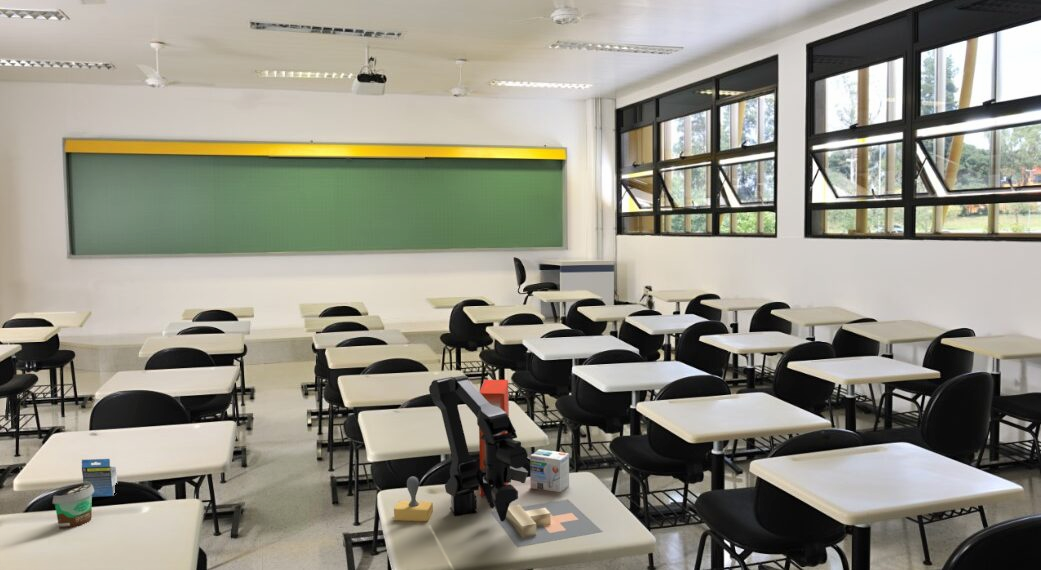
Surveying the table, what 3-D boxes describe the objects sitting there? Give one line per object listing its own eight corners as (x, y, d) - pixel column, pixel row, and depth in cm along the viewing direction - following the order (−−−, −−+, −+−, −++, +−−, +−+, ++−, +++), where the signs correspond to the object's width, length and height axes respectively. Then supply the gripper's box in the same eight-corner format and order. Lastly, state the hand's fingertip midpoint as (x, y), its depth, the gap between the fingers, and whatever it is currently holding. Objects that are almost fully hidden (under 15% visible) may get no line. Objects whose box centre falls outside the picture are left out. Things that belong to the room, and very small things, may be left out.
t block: (522, 537, 199) (522, 526, 199) (505, 516, 213) (505, 506, 212) (557, 530, 203) (557, 520, 202) (539, 511, 216) (538, 501, 216)
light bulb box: (529, 488, 235) (529, 454, 233) (539, 481, 241) (538, 448, 239) (561, 494, 230) (560, 459, 228) (570, 486, 236) (569, 452, 234)
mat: (517, 548, 194) (517, 546, 194) (490, 513, 216) (490, 511, 216) (602, 533, 202) (602, 531, 202) (567, 500, 224) (567, 499, 224)
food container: (74, 532, 210) (70, 497, 209) (55, 530, 212) (51, 496, 211) (106, 514, 222) (103, 481, 221) (88, 513, 224) (85, 480, 223)
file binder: (510, 476, 246) (508, 379, 242) (506, 496, 229) (504, 393, 225) (485, 476, 246) (483, 379, 243) (480, 496, 229) (477, 393, 226)
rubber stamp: (433, 513, 217) (431, 473, 216) (428, 522, 212) (426, 480, 210) (399, 512, 219) (398, 472, 217) (394, 521, 213) (392, 480, 212)
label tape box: (118, 491, 240) (115, 454, 239) (112, 496, 236) (109, 458, 235) (90, 493, 240) (87, 455, 238) (83, 498, 236) (80, 459, 234)
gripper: (536, 465, 196) (537, 523, 198) (513, 444, 214) (514, 497, 216) (495, 471, 193) (496, 530, 194) (475, 449, 210) (477, 503, 212)
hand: (497, 514), depth 204 cm, fingers open, 9 cm apart
